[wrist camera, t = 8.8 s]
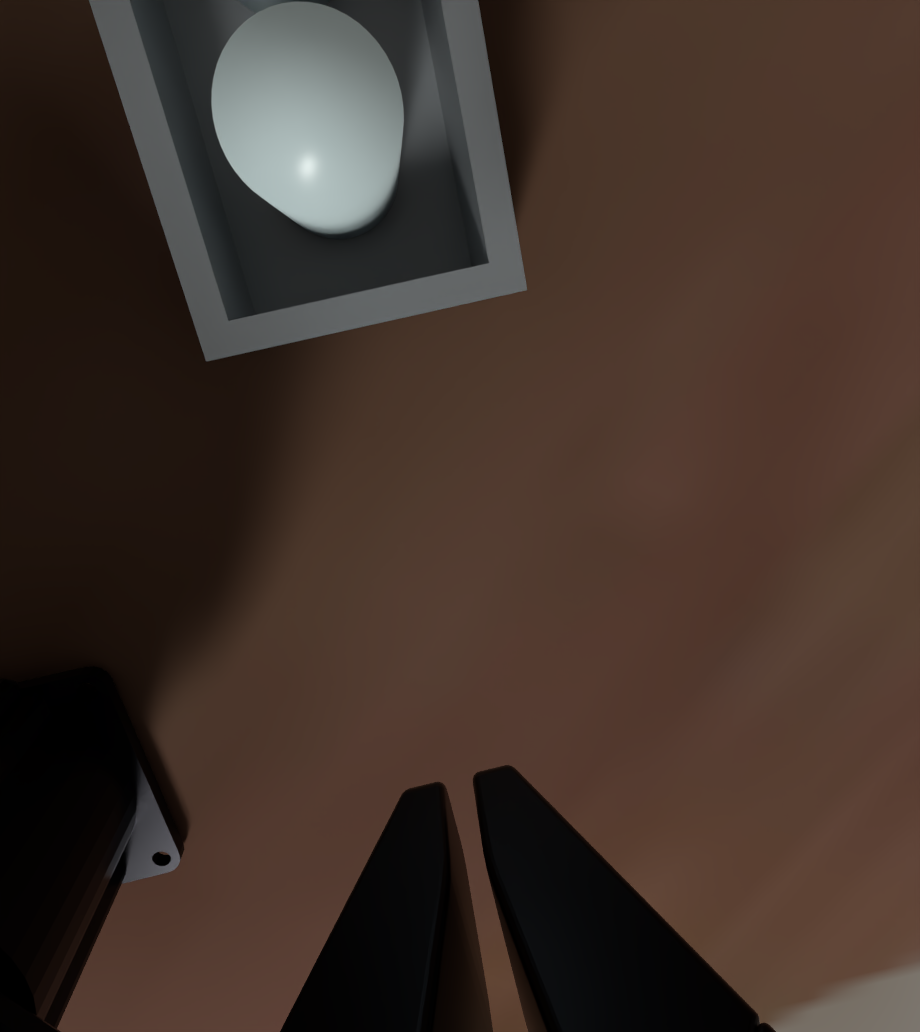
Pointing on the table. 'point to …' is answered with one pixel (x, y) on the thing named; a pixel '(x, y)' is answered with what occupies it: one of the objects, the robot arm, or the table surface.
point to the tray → (246, 228)
